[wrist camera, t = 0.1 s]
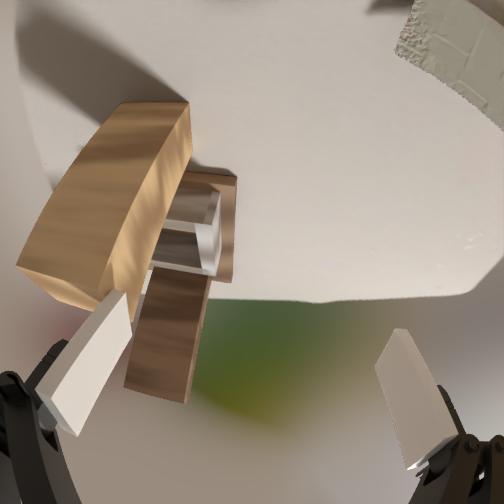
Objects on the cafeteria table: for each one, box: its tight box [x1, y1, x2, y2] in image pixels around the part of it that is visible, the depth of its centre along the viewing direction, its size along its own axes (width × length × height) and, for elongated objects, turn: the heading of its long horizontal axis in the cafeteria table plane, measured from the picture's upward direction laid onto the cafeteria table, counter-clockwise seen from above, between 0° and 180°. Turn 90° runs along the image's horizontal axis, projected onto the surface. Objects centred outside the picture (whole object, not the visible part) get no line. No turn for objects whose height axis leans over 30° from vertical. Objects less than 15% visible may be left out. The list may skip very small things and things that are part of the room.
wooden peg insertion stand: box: [124, 171, 237, 403], centre depth 28 cm, size 21×14×20 cm, turn 175°
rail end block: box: [16, 102, 193, 322], centre depth 16 cm, size 5×6×15 cm
